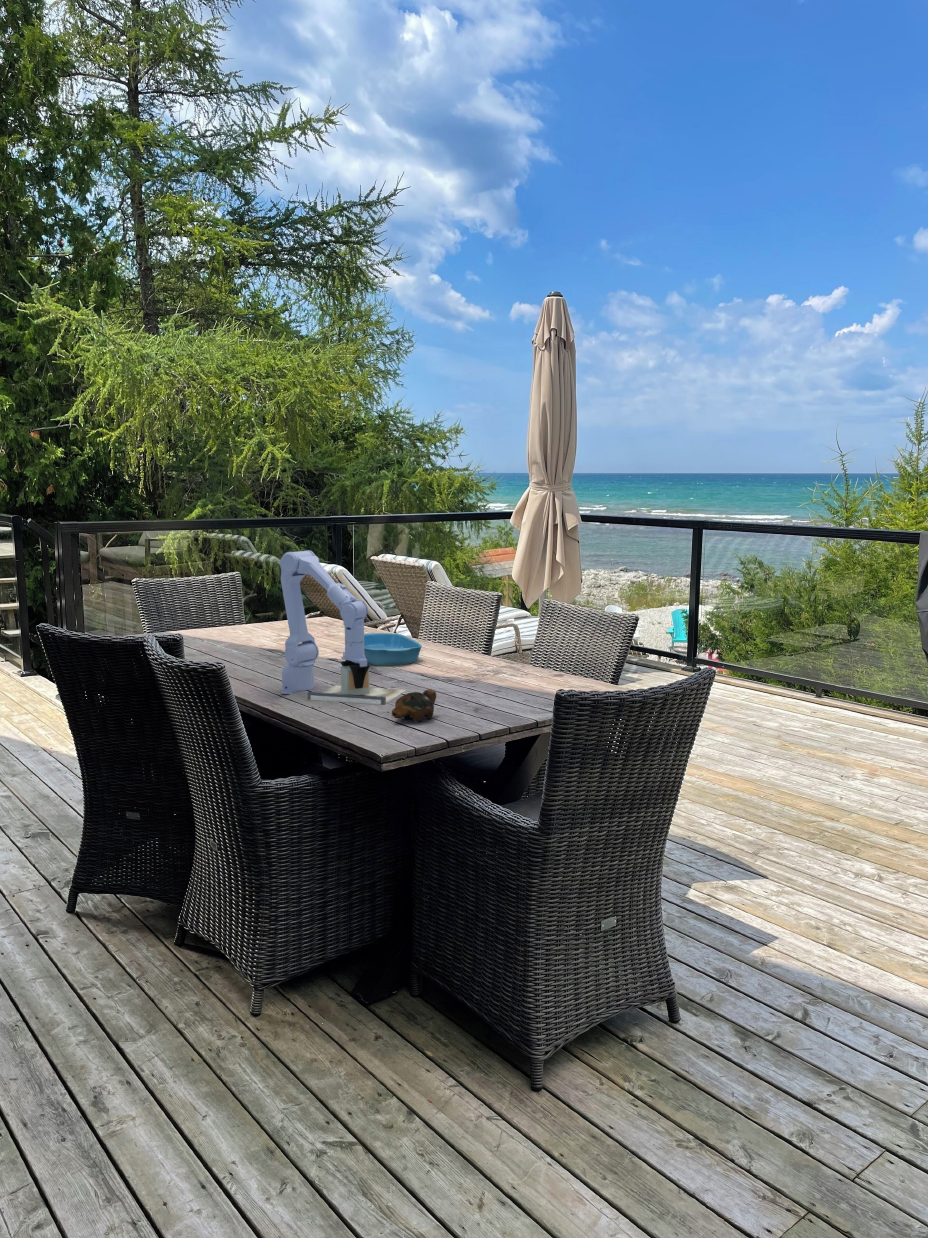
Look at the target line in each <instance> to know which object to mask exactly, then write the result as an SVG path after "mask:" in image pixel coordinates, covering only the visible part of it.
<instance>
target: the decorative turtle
mask: <svg viewBox="0 0 928 1238" xmlns="http://www.w3.org/2000/svg"><path fill="white" fill-rule="evenodd" d="M436 700H437V693H436V691H435V689H426V690H424V691H423V692H419V691H413V692H408V693H406V694H403V695H402V696H400V697H399V698H398V699H396V701H395V704H394V708H393V709H392V710H391V715H392V716H393V718H395V719H396V720H397V719H404V720H408V719H409V718H410V717H411V718H412V719H413V721H414V722H415V723H420V721H421V720H422V719H423V718H424V719H426V720H427V721H428V720H429V721H431V719H433V715H434V712H435V703H436Z"/></svg>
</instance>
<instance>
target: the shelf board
mask: <svg viewBox="0 0 928 1238" xmlns="http://www.w3.org/2000/svg"><path fill="white" fill-rule="evenodd" d="M406 691H407V689H399V688H398V689H397V688H396V689H395V688H383V687H382V688H381V687H380V688H378V687H369V694H362V695H367V696H382V697H386V704H388V703H389V702H391V701H392V700H393V699H395V698H397V697H398V696H400V695H401V694H402V693H404V692H406ZM320 692H321V693H336V694H343V693H341V685H332V686H330V687H328V688H326V689H324V690H323V691H320Z"/></svg>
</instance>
